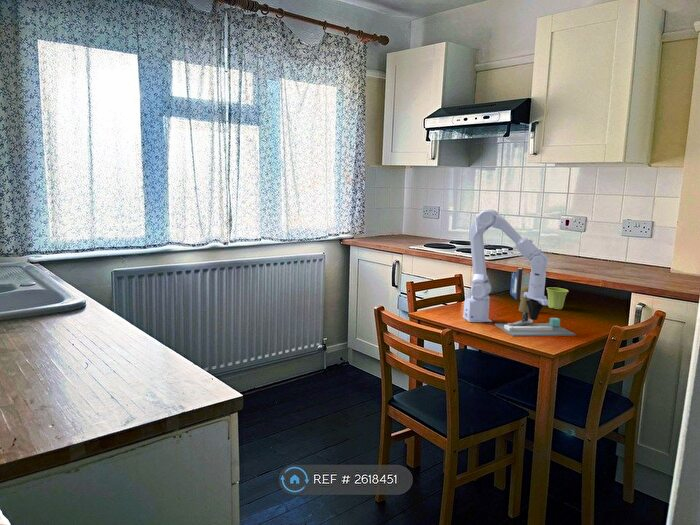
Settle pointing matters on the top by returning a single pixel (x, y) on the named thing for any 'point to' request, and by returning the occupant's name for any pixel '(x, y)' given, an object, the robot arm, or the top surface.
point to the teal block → (554, 322)
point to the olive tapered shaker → (524, 300)
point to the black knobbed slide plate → (523, 320)
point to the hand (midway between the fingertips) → (533, 319)
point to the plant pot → (556, 297)
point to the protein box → (518, 283)
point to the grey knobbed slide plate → (534, 330)
